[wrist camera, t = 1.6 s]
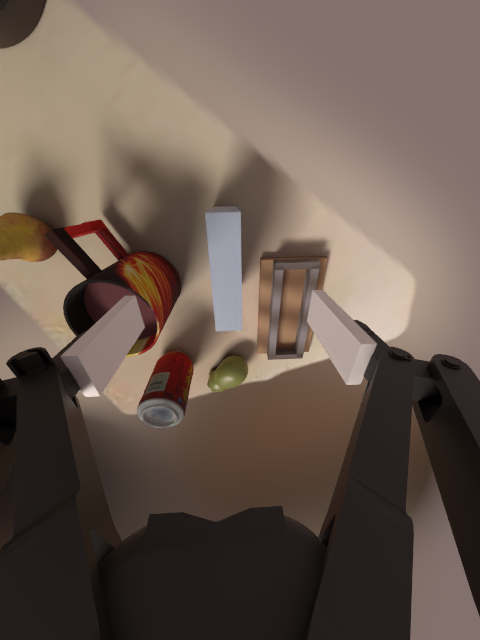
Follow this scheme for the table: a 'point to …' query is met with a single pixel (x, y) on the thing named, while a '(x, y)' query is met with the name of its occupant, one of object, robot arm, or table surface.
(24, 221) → the fruit
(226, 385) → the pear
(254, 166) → the table surface
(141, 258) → the mug
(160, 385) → the soda can
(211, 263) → the door panel
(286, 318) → the track base
